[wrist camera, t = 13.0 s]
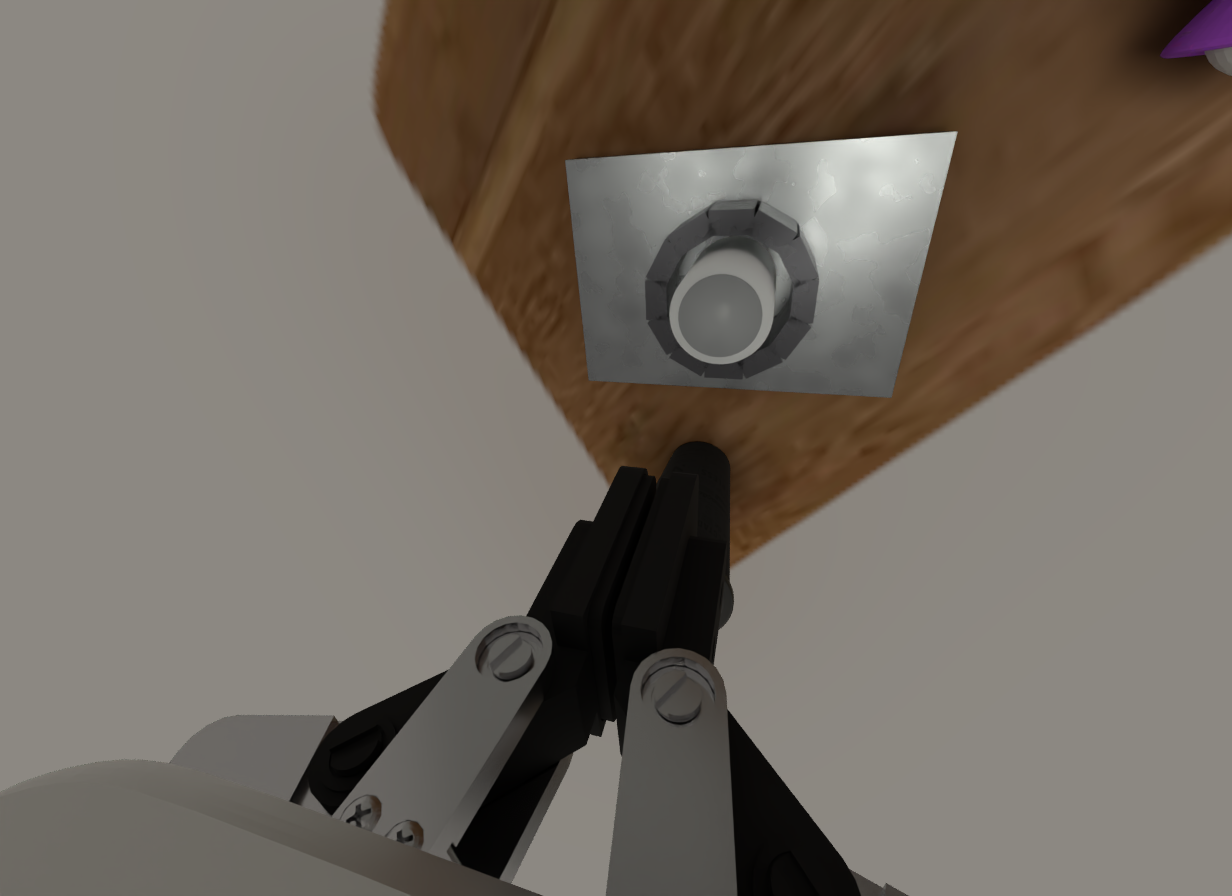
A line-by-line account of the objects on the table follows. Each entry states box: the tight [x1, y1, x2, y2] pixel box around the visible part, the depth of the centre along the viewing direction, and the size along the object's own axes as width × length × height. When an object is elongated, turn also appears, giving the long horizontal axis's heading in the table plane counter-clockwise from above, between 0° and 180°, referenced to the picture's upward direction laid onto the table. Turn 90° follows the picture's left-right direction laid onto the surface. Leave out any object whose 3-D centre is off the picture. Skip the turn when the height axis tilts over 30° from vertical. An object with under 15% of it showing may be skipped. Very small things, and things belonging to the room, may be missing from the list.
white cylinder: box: [669, 236, 776, 364], centre depth 27 cm, size 5×5×7 cm
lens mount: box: [565, 131, 957, 398], centre depth 29 cm, size 14×20×6 cm
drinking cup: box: [656, 442, 734, 630], centre depth 32 cm, size 8×8×20 cm
